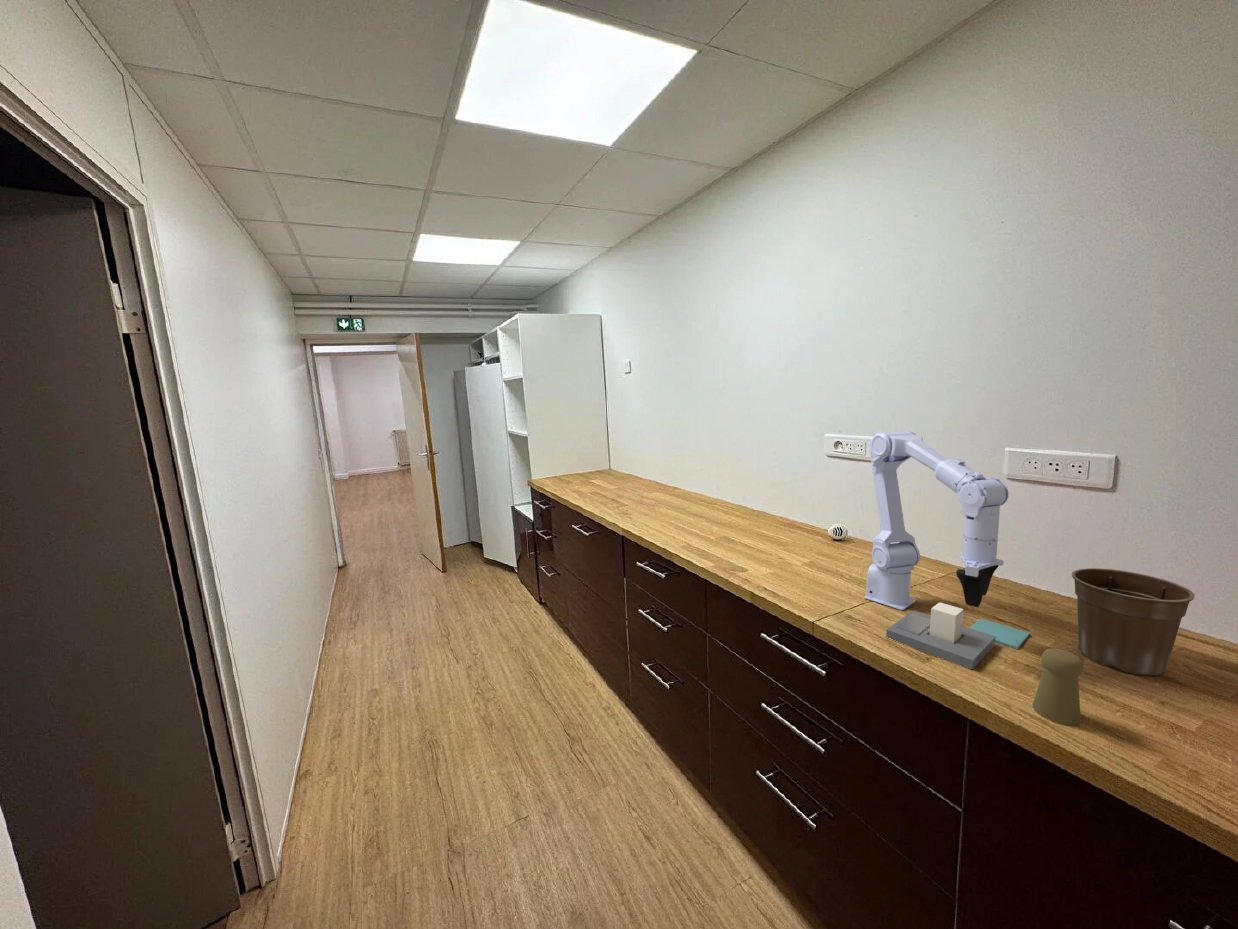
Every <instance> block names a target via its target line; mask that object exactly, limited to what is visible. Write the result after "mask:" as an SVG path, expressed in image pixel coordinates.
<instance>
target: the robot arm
mask: <svg viewBox="0 0 1238 929" xmlns="http://www.w3.org/2000/svg"><path fill="white" fill-rule="evenodd" d="M868 447H869V448H868V449H869V456H870V461H871V462H870V463H871V471H872V478H873V484H874V485H873V486H874V492H875V497H876V498H875V499H876V505H877V513H878V519H879V527H880V532H879V533H878V534H877V535H876V536H875V537H874V538H873V539H872V549H871V559H872V561H873V563H872V564H870V565H869V568H868V570H867V573H866V574H867V575H866V587H865V588H866V589H865V590H866V591H865V596H864V599H866V600H869V601H872V602H875V603H878V604H882V605H885V606H887V607H890V608H893V609H897V610H899V611H905V610H906V609H907V608H908V607H910V606H911V605H912V604H914V603H915V602H916V600H917V599H915V598H912V597H910V596H911V595H910V594H911V593H910V592H911V579H912V571H914V570H915V569H914V567H916V566H917V565H918V564H919V563H920V561H921V560H920V559H921V553H920V550H919V548H918V546H917V545H916V544H917V543H916V538H915V537H914V536H913V535H912V534H910V533H909V532H908V531H907V530H906V527H905V520H904V514H903V507H902V501H901V494H900V487H899V481H898V472H897V470H898V468H899V467H900V466H901V465H903V463H904V462H906V461H908V460H910V458H912V459H913V460H915V461H917V462H919V463H921V464H922V465H924V466H926V467H927V468H929V469H930V470H932V471H934V474H935V479H936V480H937V481H939V482H940V483H942V484H943V485H944V486H946V487H948V489H950V490H952V491H953V492H954V493H956V495H957V498H958V500H959V502H960V504H961V507H962V508H961V512H962V514H963V515H964V516H963V529H962V530H963V531H962V546H961V547H962V548H961V550H962V551H961V554H960V560H961V562H962V563H963V565H964V566H965V569H960V568H958V569H957V570H956V572H955V574H956V577H957V579H958V581H959V582H960V584H961V587H962V592H963V597H964V601H965V605H967V606H970V607H975V608H979V607H980V605H981V602H982V599H983V596H986V595H987V593H988V591H989V587H990V583H991V580H992V577H993V576H994V573H995V571H996V570H997V569H998V568H999V567H1000V566H1001V567H1002V566H1004V564H1005V563H1004V562H1005V561H1004V560H1002V559H998V558H997V557H998V556H997V555H998V541H999V528H1000V527H999V525H1000V515H1001V514H1000V511H1001V506H1003V505H1004V504H1006V503H1007V501H1008V499H1009V489H1008V487H1007V485H1006V483H1004V482H1003V481H1001V479H1000V478H996V477H989V478H988V477H986V476H984V474H983V473H982V472H978V471H976V470H975V469H973V468H971V467H969V466H968V465H967V464H966V461H964V460H963V459H956V458H950V459H947V458H946V457H944V456H943V454H940V453H939V452H938V451H937V450H936V449H934V448H933V447H932V446H930V445H929V444H928V443H926V442H925V441H924V439H923V436H922V435H920V434H918V433H917V432H915V431H913V430H906V431H895V432H877V433H875V434H874V435H873V436H872V438H871V440H870V441H869V443H868Z"/></svg>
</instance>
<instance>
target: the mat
mask: <svg viewBox="0 0 1238 929" xmlns="http://www.w3.org/2000/svg"><path fill="white" fill-rule="evenodd" d="M969 628H971V629H974V630H977V631H980V632H983V633H987V634H990V635H993V636H996V638H995V643H997V644H1000V645H1004V646H1006V647H1009V648H1012V649H1016V650H1019V648H1020V647H1021V646H1022V645H1023V644H1024V642H1025V641H1026V640H1027V639H1028V638H1029V636H1030V632H1029V631H1024V630H1021V629H1018V628H1016V627H1012V626H1008V625H1005V624H1001V623H998V622H995V621H991V620H987V619H984V618H979V619H978V620H977V621H976V622H974V624H973V625H971V626H970V627H969Z"/></svg>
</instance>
